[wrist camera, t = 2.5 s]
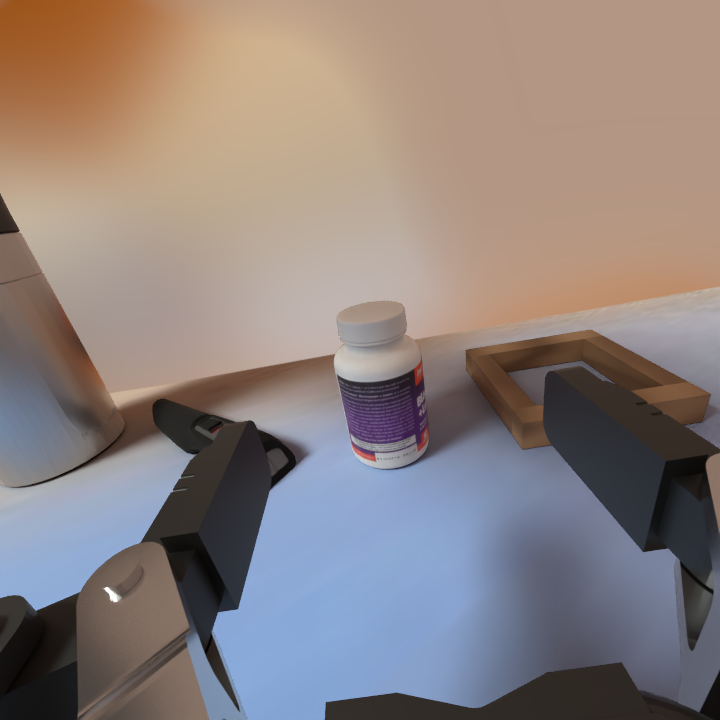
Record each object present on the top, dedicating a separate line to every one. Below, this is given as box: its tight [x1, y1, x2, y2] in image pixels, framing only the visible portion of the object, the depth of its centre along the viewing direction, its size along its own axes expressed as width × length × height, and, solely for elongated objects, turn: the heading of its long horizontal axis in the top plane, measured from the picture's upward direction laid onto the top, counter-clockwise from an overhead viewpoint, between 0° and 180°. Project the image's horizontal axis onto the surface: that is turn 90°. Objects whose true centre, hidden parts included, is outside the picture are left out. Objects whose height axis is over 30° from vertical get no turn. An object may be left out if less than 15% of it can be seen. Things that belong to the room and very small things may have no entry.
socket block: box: [466, 330, 711, 449], centre depth 26 cm, size 11×11×2 cm
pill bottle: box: [334, 301, 429, 469], centre depth 22 cm, size 5×5×10 cm
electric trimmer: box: [153, 399, 296, 489], centre depth 27 cm, size 4×16×3 cm, turn 54°
